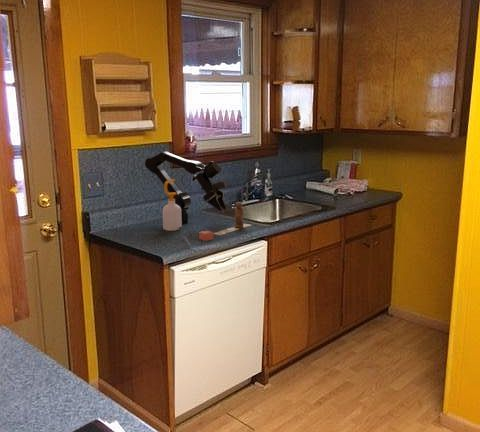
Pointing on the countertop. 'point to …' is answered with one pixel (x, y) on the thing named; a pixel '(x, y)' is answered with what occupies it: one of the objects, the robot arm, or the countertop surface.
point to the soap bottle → (171, 212)
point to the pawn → (238, 216)
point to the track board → (229, 230)
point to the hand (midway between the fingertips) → (223, 209)
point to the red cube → (206, 235)
